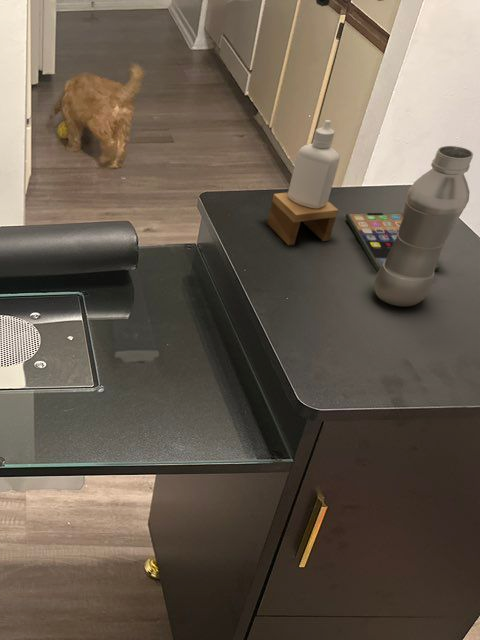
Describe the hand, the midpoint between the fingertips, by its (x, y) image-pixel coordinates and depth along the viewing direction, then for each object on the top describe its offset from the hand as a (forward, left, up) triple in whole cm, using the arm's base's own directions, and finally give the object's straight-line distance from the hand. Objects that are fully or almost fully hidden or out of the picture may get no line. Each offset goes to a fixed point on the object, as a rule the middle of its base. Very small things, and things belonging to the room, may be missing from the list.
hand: (350, 2), depth 103 cm
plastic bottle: (+4, +33, -28) cm, 44 cm away
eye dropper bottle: (+8, +14, -23) cm, 28 cm away
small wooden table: (+8, +14, -28) cm, 32 cm away
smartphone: (-3, +20, -28) cm, 35 cm away
